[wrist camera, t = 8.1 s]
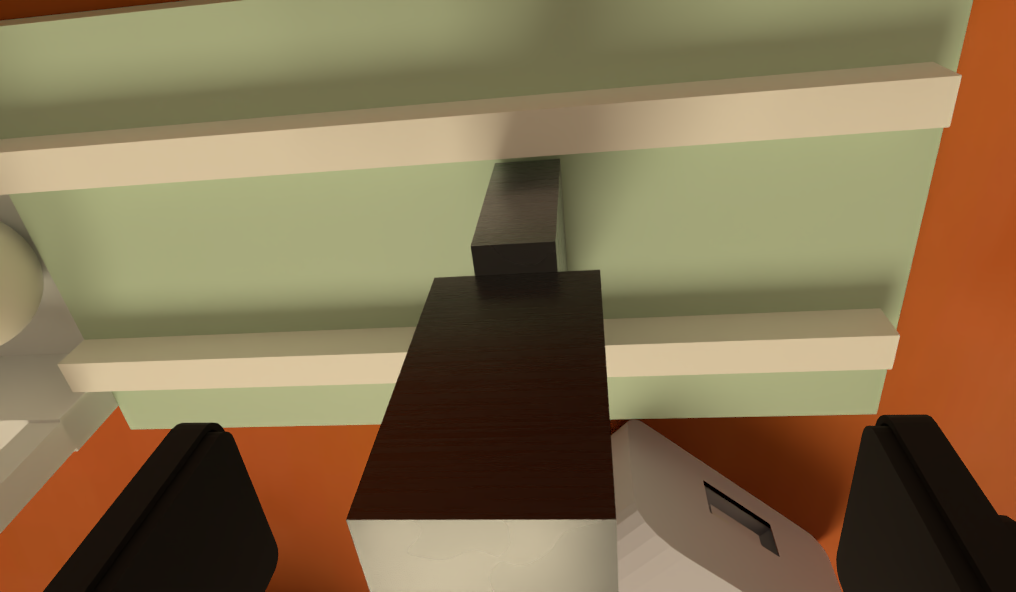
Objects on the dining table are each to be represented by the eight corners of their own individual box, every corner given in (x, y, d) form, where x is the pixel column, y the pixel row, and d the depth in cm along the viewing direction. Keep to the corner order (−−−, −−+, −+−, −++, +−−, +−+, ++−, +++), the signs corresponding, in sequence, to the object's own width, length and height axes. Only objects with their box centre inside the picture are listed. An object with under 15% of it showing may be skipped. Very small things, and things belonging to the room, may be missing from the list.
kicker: (593, 156, 15) (614, 479, 7) (599, 313, 17) (621, 703, 9) (462, 165, 15) (333, 481, 7) (485, 317, 18) (405, 695, 9)
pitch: (952, -84, 14) (1029, -78, 11) (856, 380, 20) (894, 444, 17) (-25, 23, 17) (-123, 44, 14) (155, 398, 23) (108, 456, 20)
